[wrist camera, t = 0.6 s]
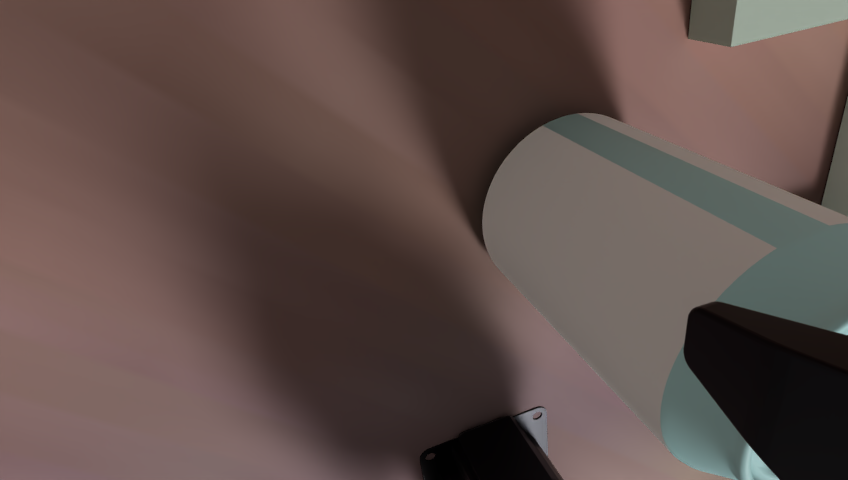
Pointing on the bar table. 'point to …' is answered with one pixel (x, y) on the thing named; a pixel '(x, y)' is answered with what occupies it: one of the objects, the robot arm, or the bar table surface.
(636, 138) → the can
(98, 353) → the bar table surface
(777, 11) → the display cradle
